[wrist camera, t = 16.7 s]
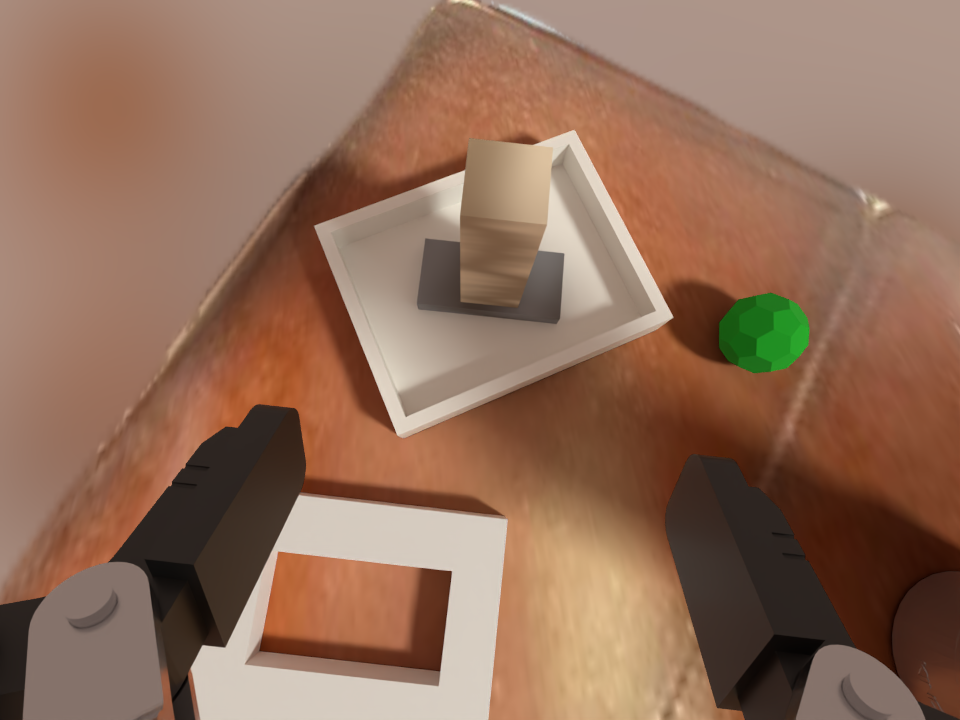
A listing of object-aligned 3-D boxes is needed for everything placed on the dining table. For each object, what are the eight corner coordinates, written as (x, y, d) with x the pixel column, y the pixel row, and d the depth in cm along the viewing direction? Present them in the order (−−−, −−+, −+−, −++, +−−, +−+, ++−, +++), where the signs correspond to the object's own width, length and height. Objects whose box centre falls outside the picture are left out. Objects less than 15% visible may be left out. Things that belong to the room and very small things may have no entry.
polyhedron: (786, 325, 34) (838, 302, 29) (765, 391, 33) (815, 378, 28) (717, 296, 34) (757, 268, 29) (694, 360, 33) (732, 342, 28)
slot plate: (504, 516, 31) (507, 519, 29) (482, 737, 28) (484, 758, 26) (243, 485, 30) (228, 487, 28) (197, 706, 28) (177, 724, 26)
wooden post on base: (560, 260, 33) (616, 146, 21) (556, 323, 32) (611, 240, 20) (426, 246, 33) (407, 122, 21) (418, 309, 32) (393, 217, 20)
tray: (565, 157, 36) (574, 129, 33) (654, 330, 33) (673, 317, 30) (326, 246, 34) (313, 225, 31) (403, 438, 31) (397, 435, 28)
